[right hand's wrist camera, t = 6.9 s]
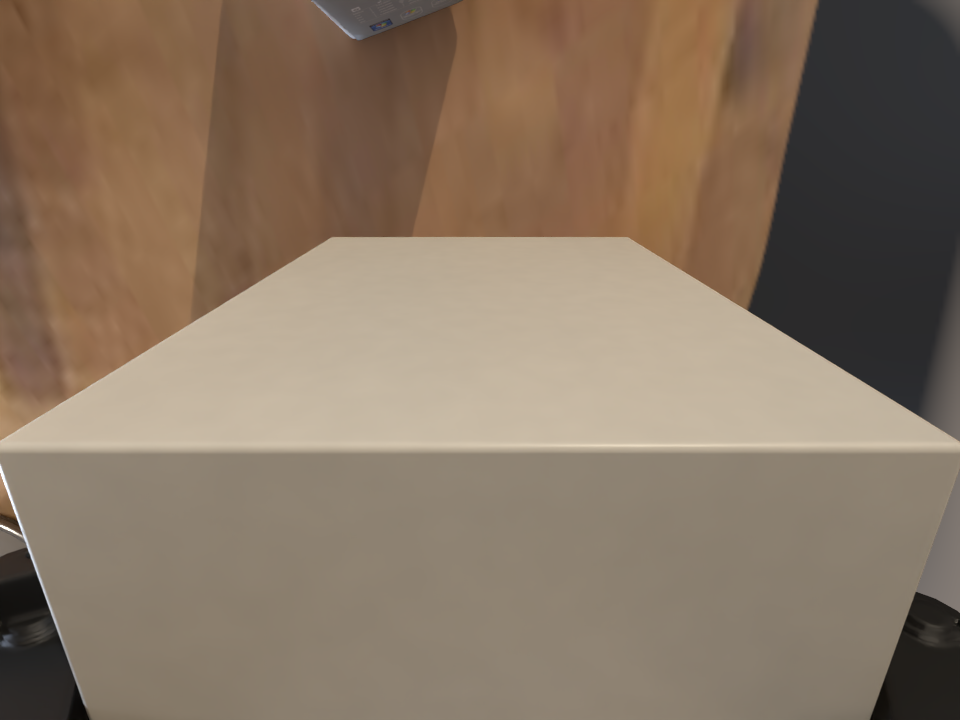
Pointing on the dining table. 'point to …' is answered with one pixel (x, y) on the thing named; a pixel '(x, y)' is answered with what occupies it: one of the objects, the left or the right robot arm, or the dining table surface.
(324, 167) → the dining table surface
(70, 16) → the dining table surface
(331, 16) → the hard drive box
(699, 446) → the brick
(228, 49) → the dining table surface
